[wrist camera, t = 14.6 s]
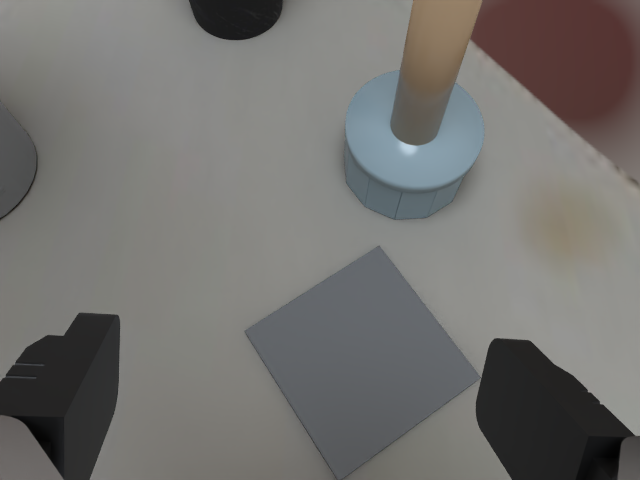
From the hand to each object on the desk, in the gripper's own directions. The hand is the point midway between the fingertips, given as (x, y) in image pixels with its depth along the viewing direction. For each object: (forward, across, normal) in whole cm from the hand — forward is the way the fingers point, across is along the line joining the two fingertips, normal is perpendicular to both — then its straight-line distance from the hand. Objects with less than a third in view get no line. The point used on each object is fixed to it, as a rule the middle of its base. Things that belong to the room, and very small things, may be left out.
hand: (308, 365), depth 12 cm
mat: (+19, -6, +10) cm, 22 cm away
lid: (+24, -9, -3) cm, 26 cm away
